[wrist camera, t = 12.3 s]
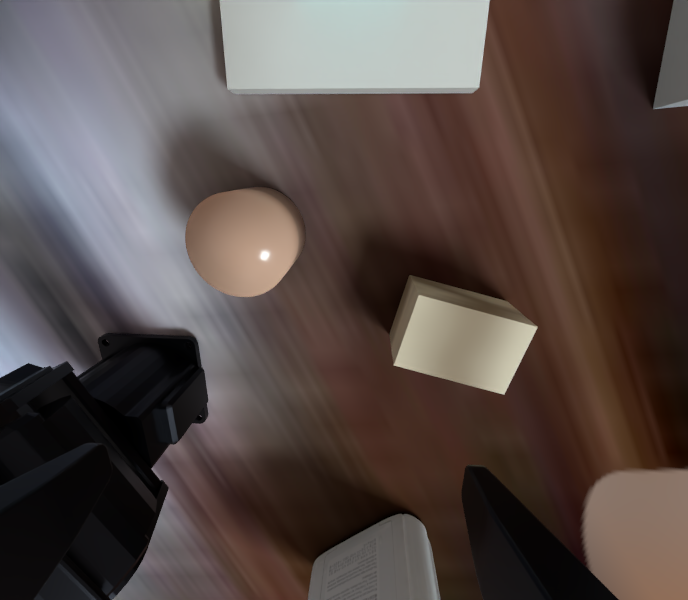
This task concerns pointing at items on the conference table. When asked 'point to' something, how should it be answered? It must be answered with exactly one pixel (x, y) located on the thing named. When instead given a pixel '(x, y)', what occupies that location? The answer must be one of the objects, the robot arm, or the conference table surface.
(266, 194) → the tan rounded lump
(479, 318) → the birch block
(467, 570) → the conference table surface
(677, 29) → the grey block
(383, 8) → the pad
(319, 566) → the photo printer
